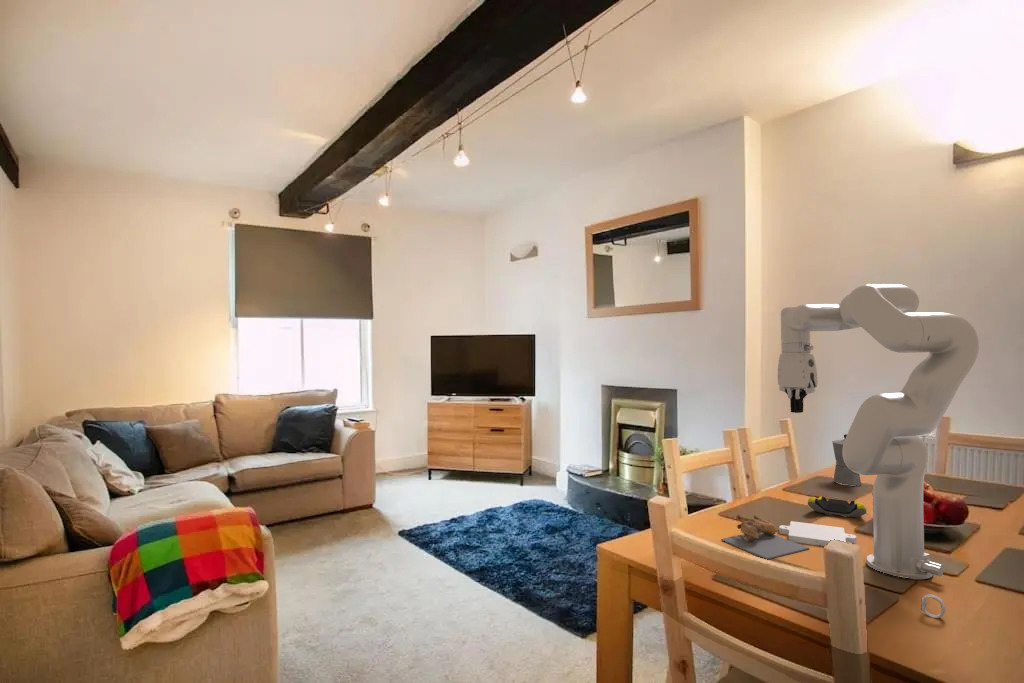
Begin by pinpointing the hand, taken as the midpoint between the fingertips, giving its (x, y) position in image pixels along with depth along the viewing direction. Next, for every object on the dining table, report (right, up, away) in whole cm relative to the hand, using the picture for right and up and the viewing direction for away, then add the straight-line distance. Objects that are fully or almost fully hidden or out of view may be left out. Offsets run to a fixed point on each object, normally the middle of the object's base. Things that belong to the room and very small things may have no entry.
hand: (796, 412), depth 158 cm
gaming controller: (+16, -32, +6) cm, 36 cm away
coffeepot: (+40, -32, +41) cm, 66 cm away
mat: (-17, -32, -17) cm, 40 cm away
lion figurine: (-18, -30, -7) cm, 36 cm away
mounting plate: (-1, -33, -12) cm, 35 cm away
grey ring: (-3, -32, -54) cm, 63 cm away
